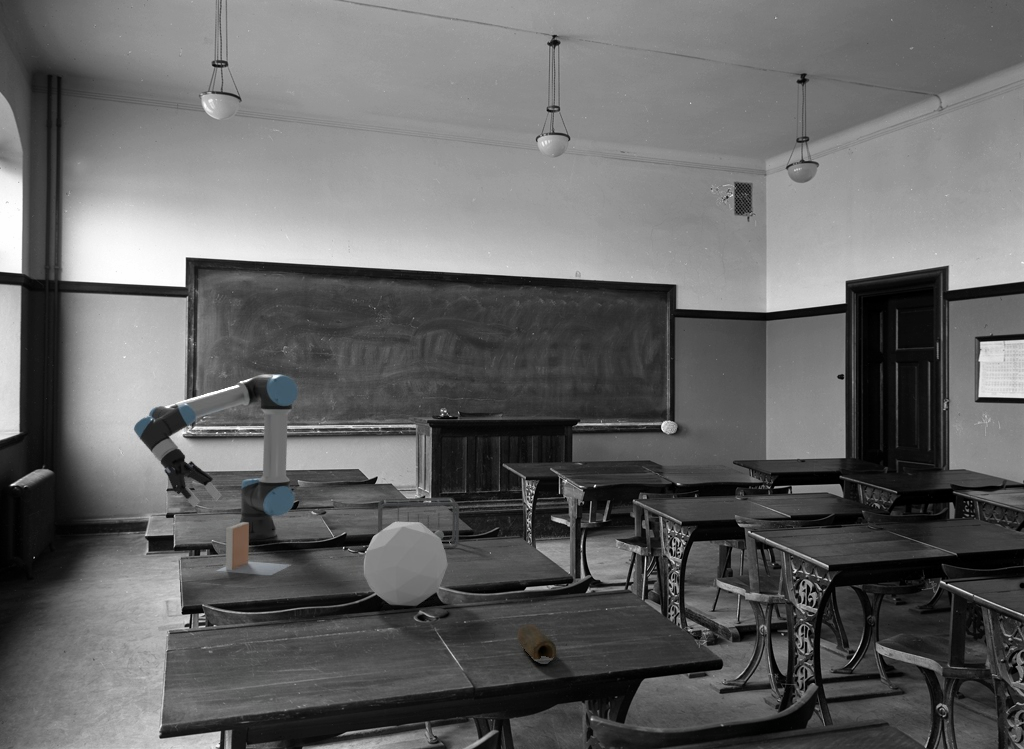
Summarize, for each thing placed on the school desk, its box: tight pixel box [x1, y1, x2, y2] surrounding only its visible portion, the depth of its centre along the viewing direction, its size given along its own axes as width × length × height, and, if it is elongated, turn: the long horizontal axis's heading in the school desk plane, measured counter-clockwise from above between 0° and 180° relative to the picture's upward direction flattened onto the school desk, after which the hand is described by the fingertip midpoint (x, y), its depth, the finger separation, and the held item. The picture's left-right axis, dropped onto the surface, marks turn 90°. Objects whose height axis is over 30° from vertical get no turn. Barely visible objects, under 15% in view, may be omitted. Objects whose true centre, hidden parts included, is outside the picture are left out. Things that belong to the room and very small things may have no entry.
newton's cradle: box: [377, 497, 460, 549], centre depth 305 cm, size 30×10×18 cm, turn 102°
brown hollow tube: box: [516, 624, 557, 659], centre depth 193 cm, size 15×7×7 cm, turn 20°
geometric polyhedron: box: [363, 521, 448, 607], centre depth 233 cm, size 24×25×25 cm
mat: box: [215, 560, 292, 577], centre depth 268 cm, size 20×14×1 cm
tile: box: [225, 522, 250, 570], centre depth 269 cm, size 2×10×14 cm, turn 168°
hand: (208, 501), depth 272 cm, fingers open, 13 cm apart
